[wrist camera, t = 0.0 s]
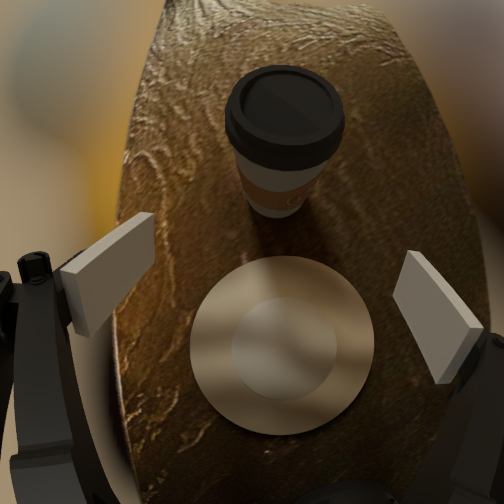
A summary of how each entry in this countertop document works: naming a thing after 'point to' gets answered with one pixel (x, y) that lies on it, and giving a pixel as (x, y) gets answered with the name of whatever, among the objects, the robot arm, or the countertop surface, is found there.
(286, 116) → the coffee cup
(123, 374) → the countertop surface
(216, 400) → the cream round saucer
